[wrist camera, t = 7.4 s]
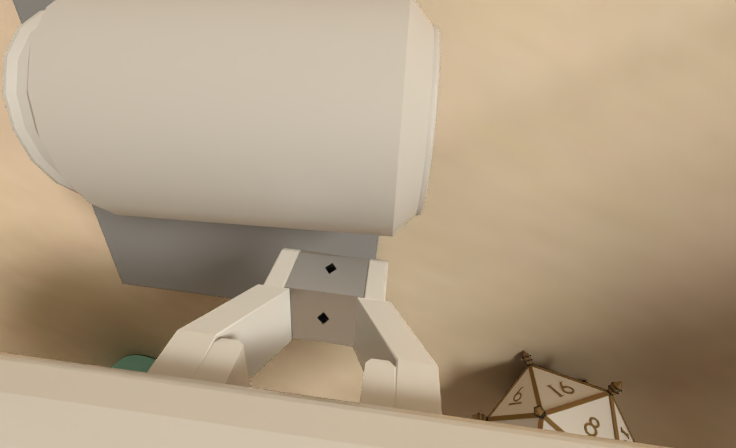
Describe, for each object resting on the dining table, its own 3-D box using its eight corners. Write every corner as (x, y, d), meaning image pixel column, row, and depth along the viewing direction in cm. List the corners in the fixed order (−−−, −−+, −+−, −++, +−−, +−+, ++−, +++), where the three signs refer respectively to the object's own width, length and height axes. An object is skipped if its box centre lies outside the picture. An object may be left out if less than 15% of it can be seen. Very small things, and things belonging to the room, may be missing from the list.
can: (459, -26, 7) (-105, -40, 8) (419, 286, 10) (37, 253, 11) (433, 4, 13) (132, -5, 14) (414, 188, 17) (174, 172, 18)
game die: (498, 339, 28) (423, 438, 22) (595, 306, 21) (526, 435, 15) (579, 439, 26) (523, 575, 20) (711, 437, 20) (687, 638, 14)
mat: (419, -115, 12) (419, -118, 11) (369, 312, 22) (368, 316, 22) (-39, -153, 12) (-49, -157, 12) (125, 280, 23) (122, 283, 23)
